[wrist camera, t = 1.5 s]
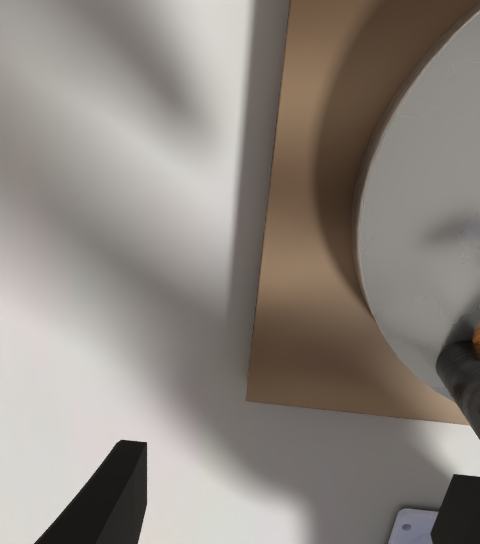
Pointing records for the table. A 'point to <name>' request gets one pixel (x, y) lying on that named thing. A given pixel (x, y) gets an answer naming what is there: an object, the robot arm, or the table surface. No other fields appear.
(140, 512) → the robot arm
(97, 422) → the table surface
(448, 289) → the dial
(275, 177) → the stand
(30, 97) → the table surface
